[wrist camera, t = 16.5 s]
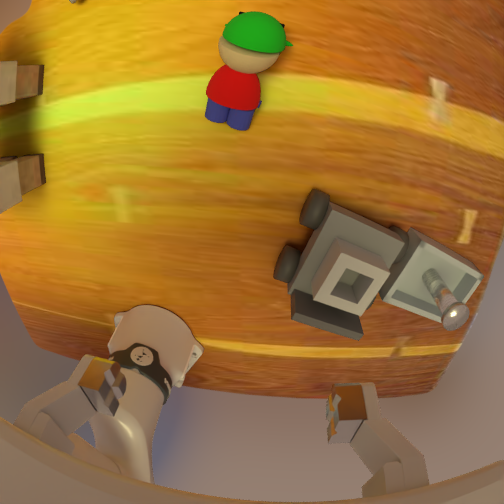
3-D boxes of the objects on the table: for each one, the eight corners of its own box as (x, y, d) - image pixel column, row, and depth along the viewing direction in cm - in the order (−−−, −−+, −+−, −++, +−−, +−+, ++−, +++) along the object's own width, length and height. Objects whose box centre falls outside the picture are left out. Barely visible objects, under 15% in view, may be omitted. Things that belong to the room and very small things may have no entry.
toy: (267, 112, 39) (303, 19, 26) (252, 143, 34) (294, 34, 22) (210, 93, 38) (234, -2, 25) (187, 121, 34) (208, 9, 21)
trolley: (352, 305, 48) (366, 355, 38) (269, 275, 47) (265, 324, 37) (402, 226, 41) (433, 265, 31) (313, 184, 39) (324, 214, 29)
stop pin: (430, 290, 44) (455, 333, 35) (413, 281, 44) (438, 326, 34) (445, 270, 42) (474, 311, 33) (428, 260, 42) (457, 302, 32)
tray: (439, 310, 47) (448, 325, 43) (375, 284, 46) (382, 300, 42) (472, 262, 42) (484, 276, 38) (410, 227, 41) (421, 240, 37)
